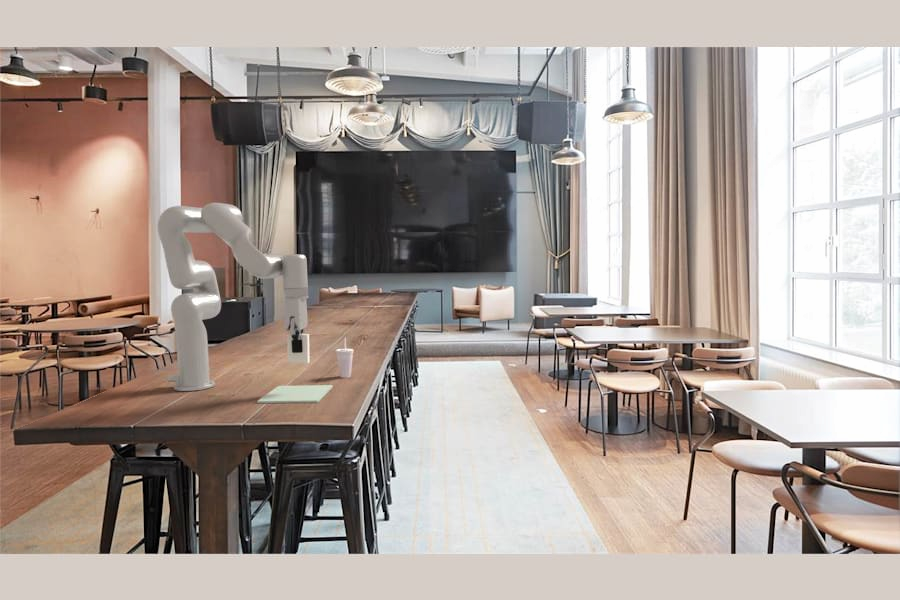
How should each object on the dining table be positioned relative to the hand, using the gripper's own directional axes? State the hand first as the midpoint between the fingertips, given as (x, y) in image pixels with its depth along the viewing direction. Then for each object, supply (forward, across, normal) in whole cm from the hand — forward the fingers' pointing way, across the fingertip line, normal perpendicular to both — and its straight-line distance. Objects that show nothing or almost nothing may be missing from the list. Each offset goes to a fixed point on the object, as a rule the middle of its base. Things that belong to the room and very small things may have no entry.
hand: (298, 351), depth 184 cm
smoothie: (+13, -23, +10) cm, 28 cm away
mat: (+13, +3, 0) cm, 13 cm away
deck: (+4, 0, 0) cm, 4 cm away
